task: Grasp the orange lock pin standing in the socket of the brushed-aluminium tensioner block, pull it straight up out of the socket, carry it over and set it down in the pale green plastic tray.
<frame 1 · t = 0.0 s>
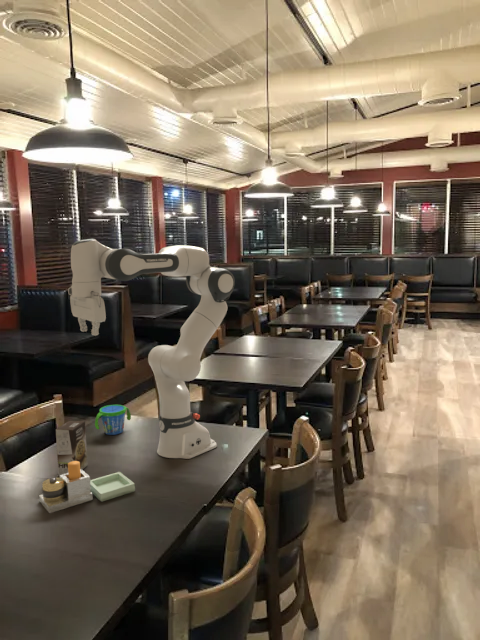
hand: (89, 333, 172), 48 cm above the table, fingers open, 8 cm apart
tensioner: (66, 500, 161), on the table
coffee box: (73, 470, 182), on the table
tray: (111, 489, 167), on the table
lock pin: (75, 491, 162), point 2 cm above the table, touching tensioner
snack cup: (113, 432, 218), on the table
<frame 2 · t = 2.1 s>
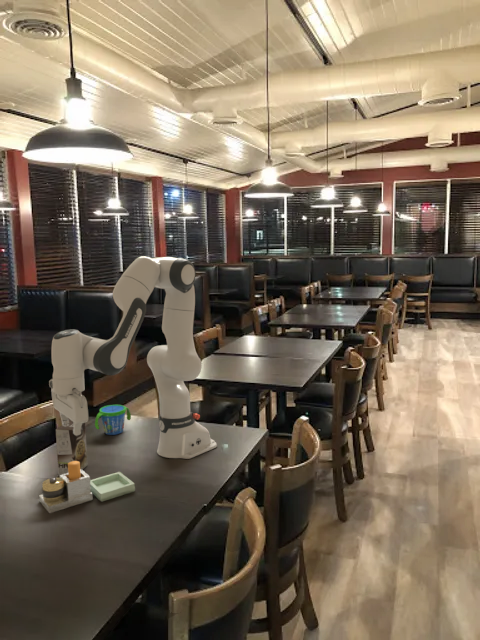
hand: (71, 430, 159), 22 cm above the table, fingers open, 8 cm apart
nothing on the table moved.
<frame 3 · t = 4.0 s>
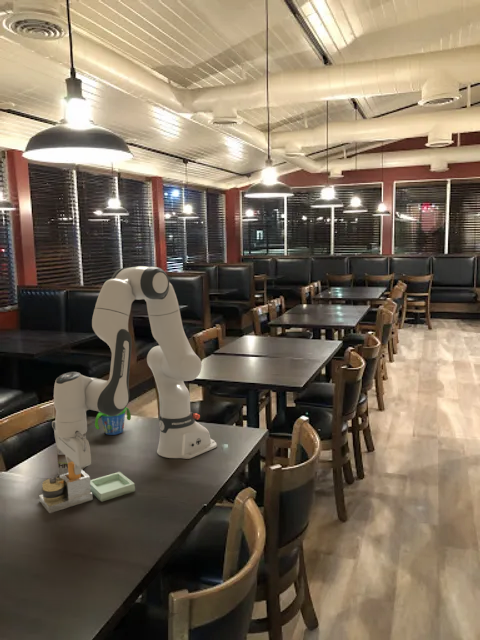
hand: (74, 470, 162), 9 cm above the table, fingers closed on lock pin, 3 cm apart
lock pin: (75, 491, 162), point 2 cm above the table, touching gripper, tensioner
everything else where it was.
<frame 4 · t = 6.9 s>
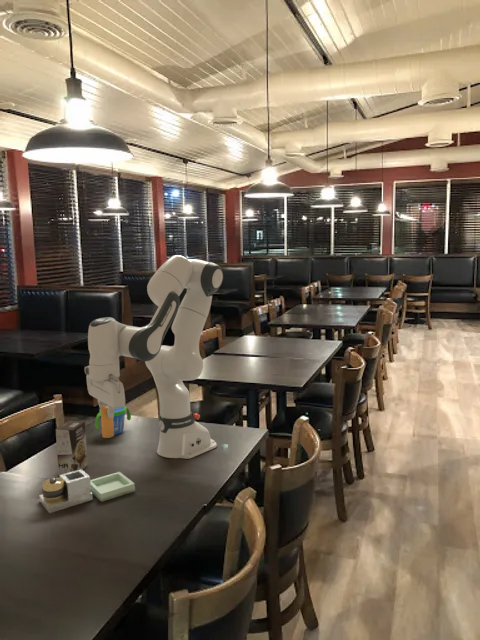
hand: (107, 415, 164), 24 cm above the table, fingers closed on lock pin, 3 cm apart
lock pin: (108, 435, 165), point 18 cm above the table, touching gripper
everything else where it was.
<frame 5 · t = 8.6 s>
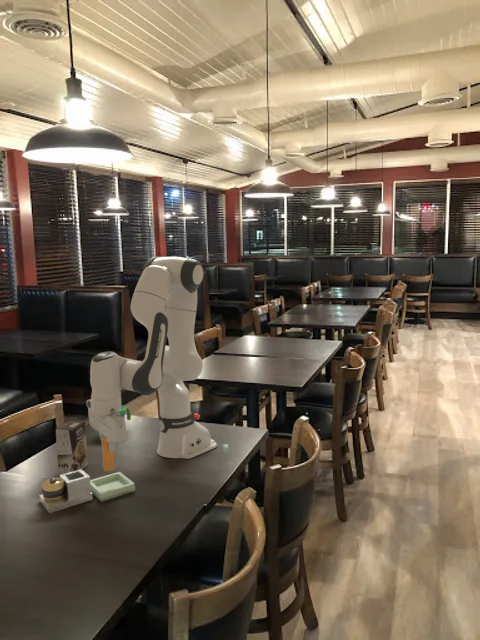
hand: (108, 448, 165), 14 cm above the table, fingers closed on lock pin, 3 cm apart
lock pin: (109, 468, 166), point 7 cm above the table, touching gripper
everything else where it was.
when the fingers open (9 cm above the table, at t = 9.9 s): lock pin drops 2 cm, resting on tray.
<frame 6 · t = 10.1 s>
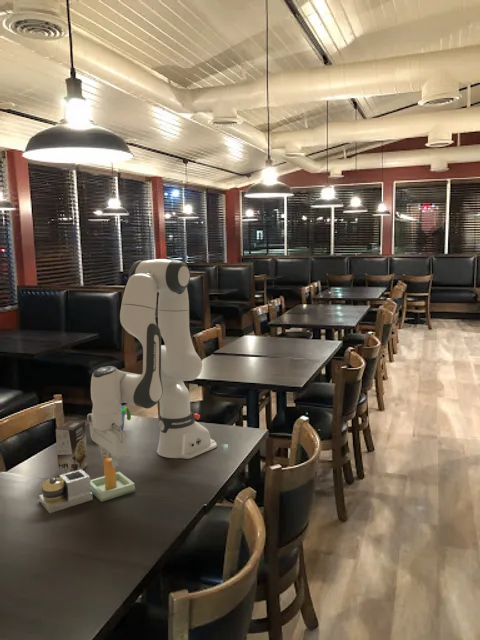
hand: (109, 462, 166), 9 cm above the table, fingers open, 5 cm apart
lock pin: (110, 487, 167), point 1 cm above the table, touching tray
everything else where it was.
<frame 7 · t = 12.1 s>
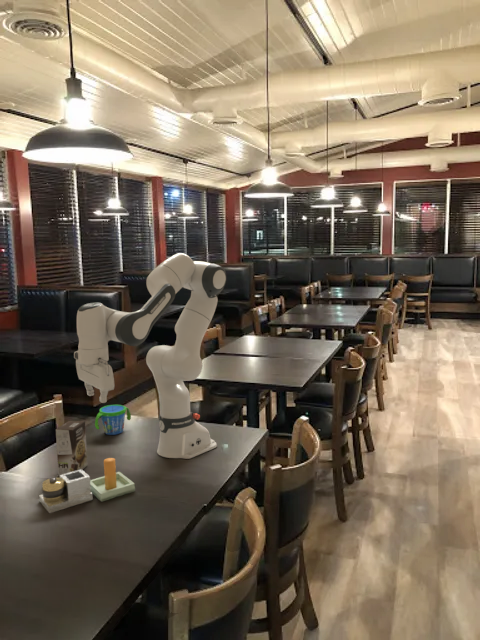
hand: (96, 398, 167), 29 cm above the table, fingers open, 8 cm apart
nothing on the table moved.
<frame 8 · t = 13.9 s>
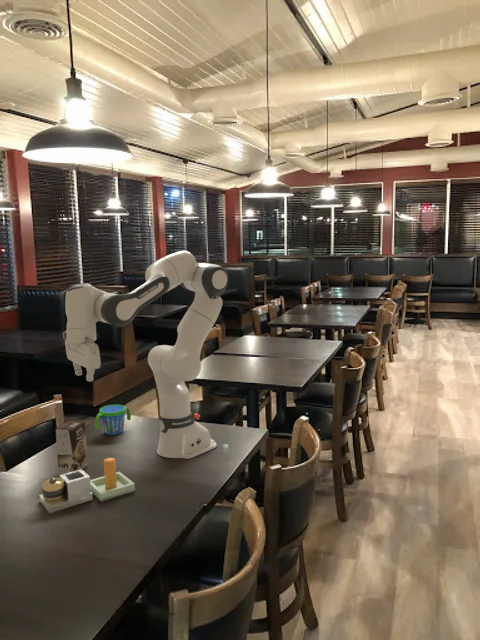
hand: (84, 377, 171), 34 cm above the table, fingers open, 8 cm apart
nothing on the table moved.
at the end: lock pin inside the target area on the tray (0.0 cm from its centre), point 0.8 cm above the tray's base; the gripper is holding nothing; lock pin touching tray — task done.
